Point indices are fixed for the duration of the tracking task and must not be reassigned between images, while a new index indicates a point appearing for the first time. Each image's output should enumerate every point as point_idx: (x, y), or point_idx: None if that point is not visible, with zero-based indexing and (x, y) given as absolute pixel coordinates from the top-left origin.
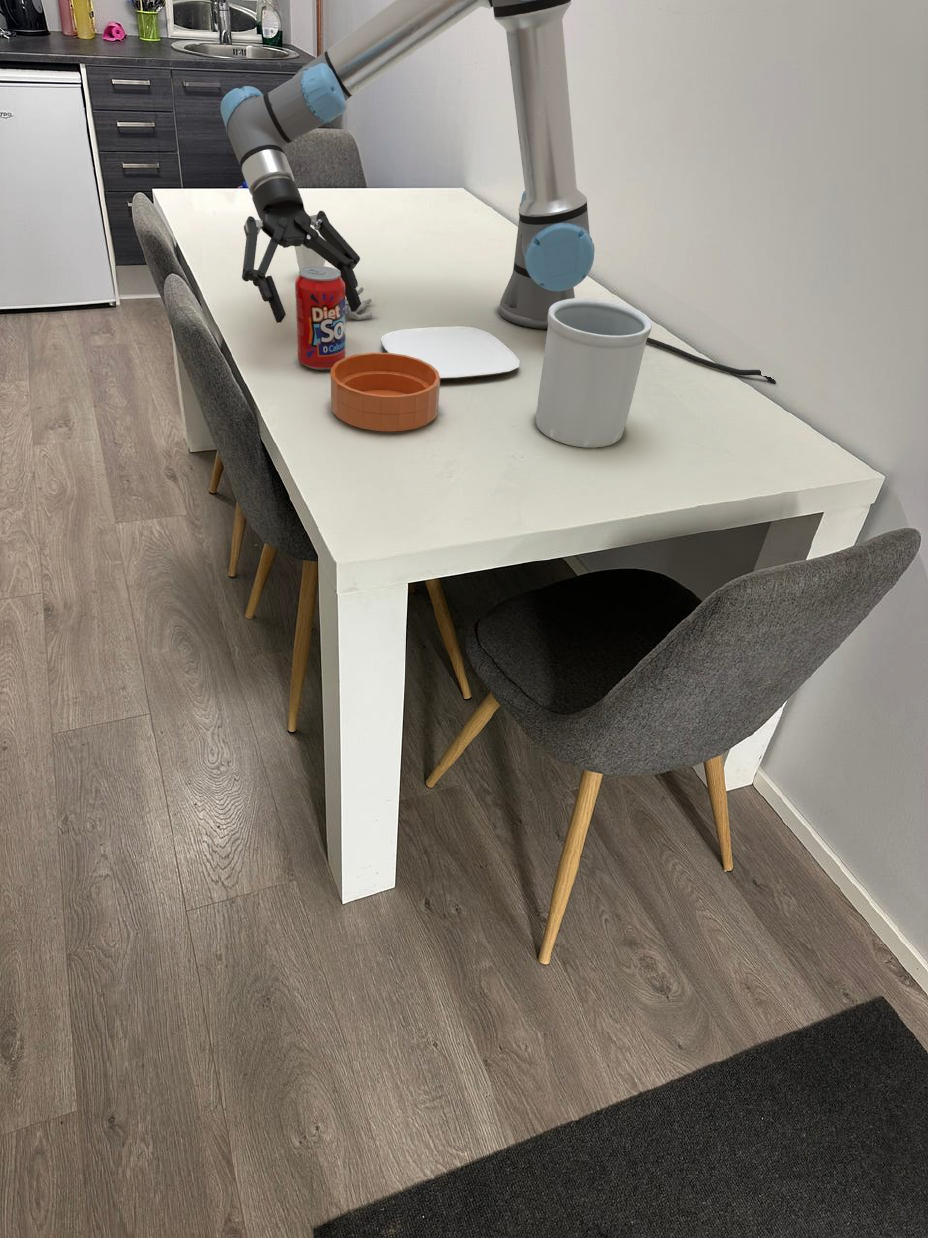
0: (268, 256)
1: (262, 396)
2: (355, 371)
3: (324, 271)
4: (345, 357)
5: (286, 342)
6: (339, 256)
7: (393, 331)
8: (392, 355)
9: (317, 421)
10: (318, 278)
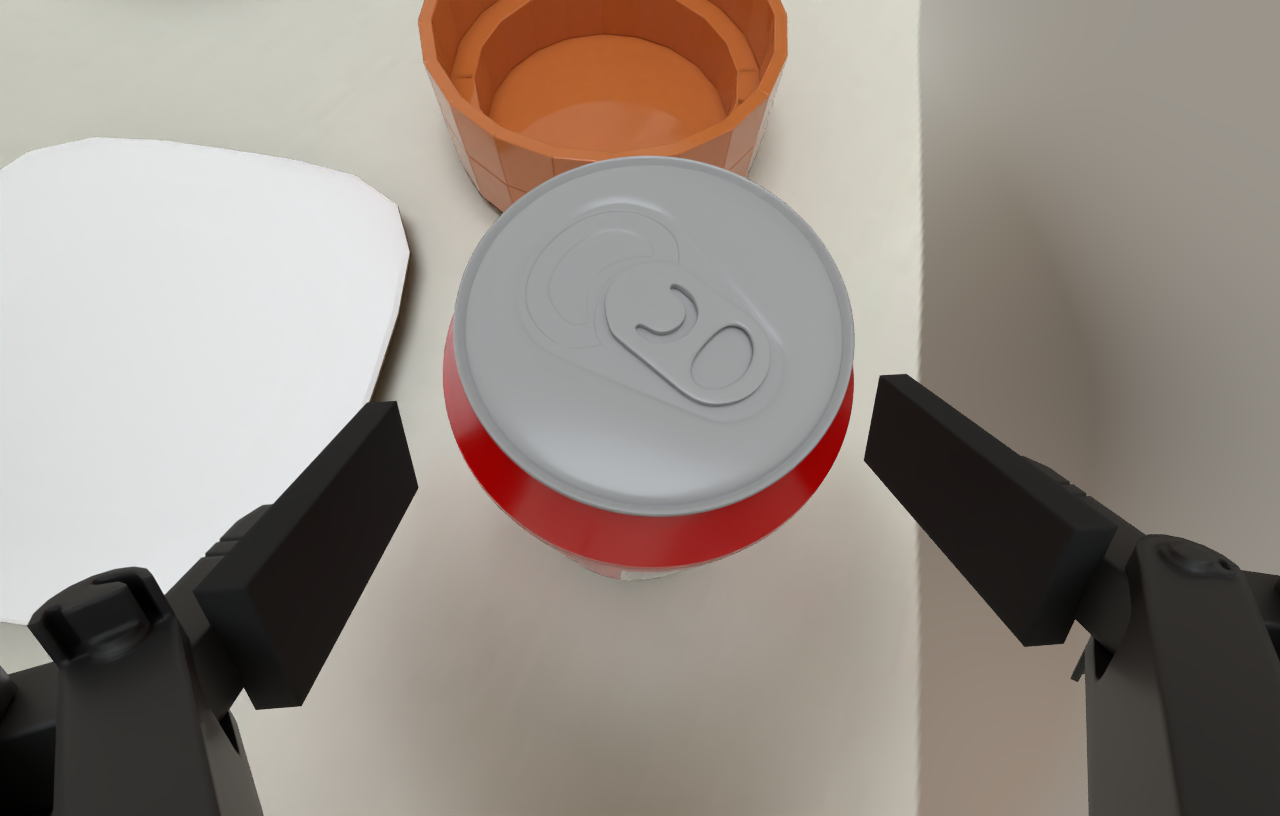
0: (1239, 729)
1: (913, 319)
2: None
3: (611, 303)
4: (675, 154)
5: (681, 776)
6: (151, 711)
7: None
8: (493, 122)
9: (805, 142)
10: (734, 186)
